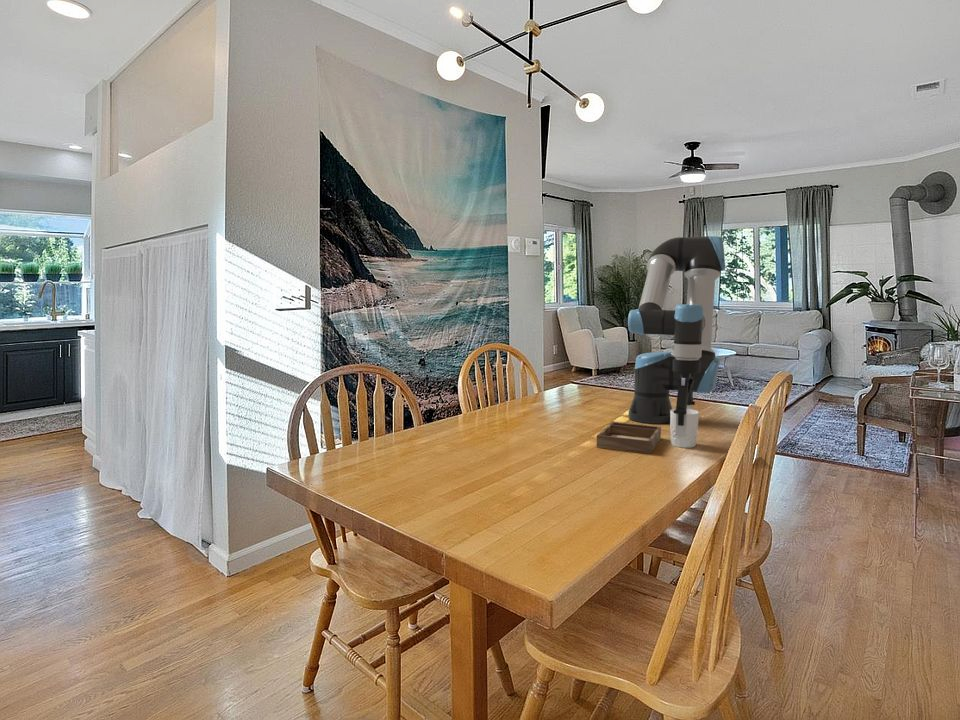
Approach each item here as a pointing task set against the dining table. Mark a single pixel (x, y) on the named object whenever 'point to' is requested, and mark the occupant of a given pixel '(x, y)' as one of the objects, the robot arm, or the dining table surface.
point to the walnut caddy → (629, 437)
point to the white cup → (690, 429)
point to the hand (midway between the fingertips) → (683, 431)
